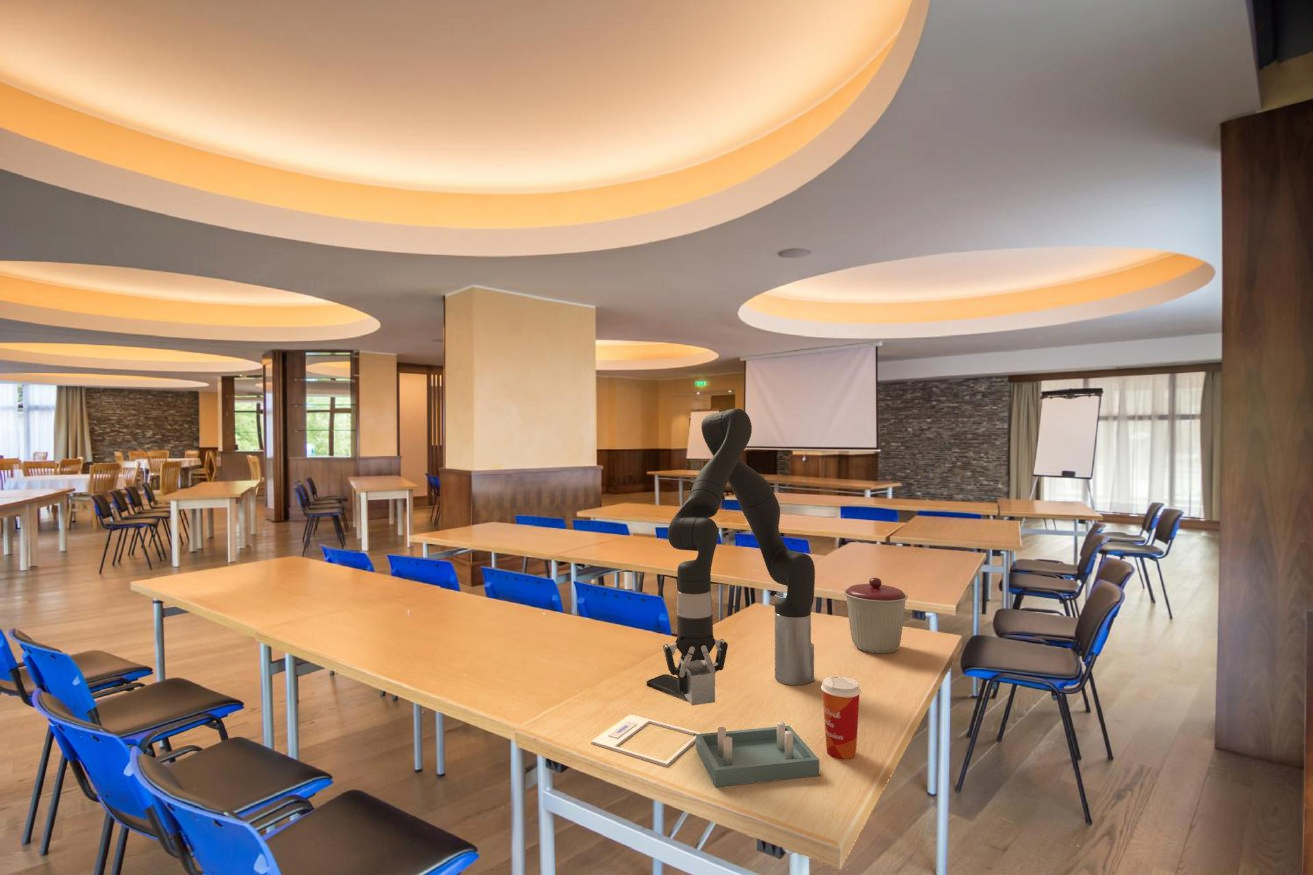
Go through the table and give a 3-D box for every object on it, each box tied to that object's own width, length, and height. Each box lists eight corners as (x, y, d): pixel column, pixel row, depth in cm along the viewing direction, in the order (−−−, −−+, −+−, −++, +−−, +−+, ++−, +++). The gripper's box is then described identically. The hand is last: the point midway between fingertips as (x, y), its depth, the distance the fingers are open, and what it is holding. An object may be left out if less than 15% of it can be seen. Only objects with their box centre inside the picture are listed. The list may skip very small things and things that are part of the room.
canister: (855, 634, 199) (855, 569, 199) (914, 645, 188) (914, 576, 189) (835, 650, 184) (835, 579, 184) (898, 663, 174) (898, 587, 174)
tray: (789, 739, 129) (789, 710, 129) (819, 775, 116) (819, 743, 116) (696, 749, 126) (695, 719, 126) (715, 786, 112) (715, 753, 112)
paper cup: (815, 744, 128) (815, 675, 128) (852, 742, 128) (851, 674, 128) (829, 763, 120) (829, 691, 120) (868, 762, 120) (868, 689, 120)
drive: (679, 688, 135) (678, 659, 135) (701, 685, 137) (700, 657, 137) (691, 705, 127) (691, 674, 127) (715, 702, 128) (714, 672, 128)
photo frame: (630, 713, 141) (701, 732, 131) (630, 718, 141) (701, 737, 131) (591, 739, 128) (667, 762, 119) (591, 745, 128) (667, 768, 119)
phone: (665, 673, 165) (709, 688, 154) (665, 677, 165) (709, 693, 154) (644, 681, 159) (688, 698, 148) (644, 686, 159) (688, 703, 148)
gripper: (722, 604, 137) (723, 681, 137) (657, 609, 134) (659, 687, 134) (732, 613, 129) (734, 695, 129) (665, 619, 126) (667, 702, 127)
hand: (696, 691), depth 132 cm, fingers closed on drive, 5 cm apart
